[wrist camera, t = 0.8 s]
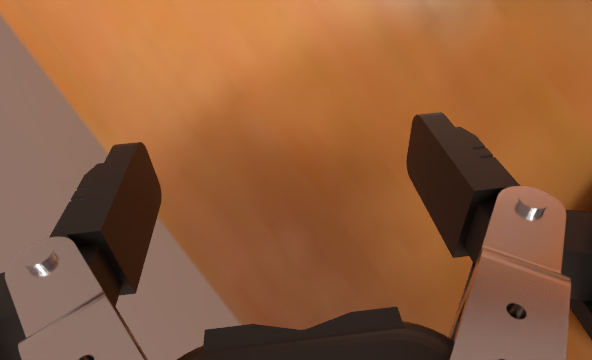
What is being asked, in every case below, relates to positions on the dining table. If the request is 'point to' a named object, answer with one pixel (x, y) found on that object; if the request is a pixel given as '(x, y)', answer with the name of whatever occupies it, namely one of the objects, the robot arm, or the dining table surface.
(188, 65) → the dining table surface
